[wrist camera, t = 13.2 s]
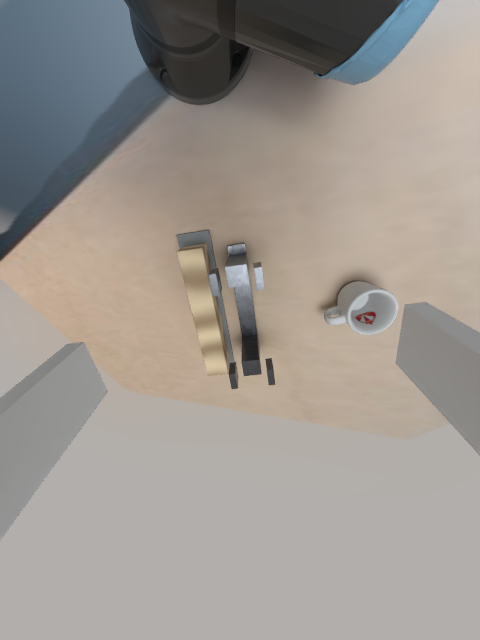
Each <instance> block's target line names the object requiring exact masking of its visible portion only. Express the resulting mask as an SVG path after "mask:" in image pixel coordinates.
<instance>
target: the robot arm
mask: <svg viewBox="0 0 480 640" xmlns="http://www.w3.org/2000/svg"><path fill="white" fill-rule="evenodd" d="M124 1H125V2H126V4H127V6H128V7H129V10H130V16H131V23H132V28H133V33H134V36H135V40H136V43H137V46H138V48H139V51H140V53H141V55H142V57H143V60H144V62H145V63H146V65H147V67H148V68H149V70H150V71H151V73H152V74H153V76H154V77H155V78H156V80H157V81H158V82H159V84H160V85H161V86H162V87H163V88H164V89H165V90H166V91H167V92H169V93H170V94H171V95H172V96H174V97H176V98H177V99H179V100H181V101H184V102H187V103H190V104H197V105H202V104H209V103H213V102H216V101H218V100H220V99H222V98H223V97H225V96H226V95H227V94H229V93H230V92H231V91H232V90H233V89H234V88H235V87H236V85H237V84H238V83H239V81H240V80H241V78H242V77H243V75H244V73H245V71H246V69H247V67H248V64H249V61H250V58H251V55H252V50H253V48H254V49H256V50H259V51H261V52H264V53H266V54H269V55H272V56H274V57H277V58H279V59H282V60H285V61H287V62H290V63H292V64H295V65H298V66H300V67H303V68H305V69H308V70H310V71H313V72H314V75H315V76H316V77H318V78H320V79H323V78H326V79H327V78H331V79H334V80H337V81H340V82H343V83H347V84H351V85H355V84H359V83H363V82H366V81H368V80H370V79H372V78H373V77H375V76H376V75H377V74H379V73H380V72H381V71H382V70H383V69H384V68H386V67H387V66H388V65H389V64H390V63H391V62H392V61H393V60H394V59H395V57H396V56H397V55H398V54H399V53H400V52H401V51H402V49H403V48H404V47H405V46H406V45H407V43H408V42H409V41H410V40H411V38H412V37H413V36H414V35H415V33H416V32H417V31H418V29H419V28H420V27H421V25H422V24H423V23H424V21H425V20H426V18H427V17H428V16H429V14H430V13H431V11H432V10H433V8H434V7H435V6H436V4H437V3H438V1H439V0H124ZM396 364H397V365H398V366H399V368H400V369H401V370H402V371H403V372H404V373H405V374H406V375H407V376H408V377H409V378H410V380H411V381H412V382H413V383H414V384H415V385H416V386H417V387H418V388H419V389H420V391H421V392H422V393H423V394H424V395H425V396H426V397H427V398H428V399H429V400H430V401H431V403H432V404H433V405H434V406H435V407H436V408H437V409H438V410H439V411H440V412H441V414H442V415H443V416H444V417H445V418H446V419H447V420H448V421H449V422H450V423H451V424H452V426H453V427H454V428H455V429H456V430H457V431H458V432H459V433H460V434H461V435H462V436H463V438H464V439H465V440H466V441H467V442H468V443H469V444H470V445H471V446H472V447H473V448H474V450H475V451H476V452H477V453H478V454H479V455H480V333H479V332H477V331H476V330H474V329H472V328H470V327H469V326H467V325H465V324H463V323H462V322H460V321H458V320H456V319H455V318H453V317H451V316H449V315H448V314H446V313H444V312H442V311H441V310H439V309H437V308H435V307H434V306H432V305H430V304H428V303H426V302H422V303H414V304H405V307H404V313H403V319H402V326H401V332H400V338H399V345H398V351H397V357H396ZM107 392H108V391H107V388H106V386H105V384H104V382H103V380H102V378H101V376H100V374H99V372H98V370H97V368H96V366H95V364H94V361H93V359H92V357H91V355H90V353H89V351H88V349H87V347H86V345H85V343H84V342H80V343H71V344H67V345H66V346H64V347H63V348H62V349H60V350H59V351H58V352H57V353H55V354H54V355H53V356H52V357H51V358H49V359H48V360H47V361H46V362H44V363H43V364H42V365H41V366H39V367H38V368H37V369H36V370H34V371H33V372H32V373H31V374H29V375H28V376H27V377H26V378H24V379H23V380H22V381H21V382H19V383H18V384H17V385H16V386H14V387H13V388H12V389H11V390H10V391H8V392H7V393H6V394H5V395H4V396H2V397H1V398H0V540H1V539H2V537H3V536H4V535H5V533H6V532H7V530H8V529H9V528H10V526H11V525H12V524H13V522H14V521H15V519H16V518H17V517H18V515H19V514H20V513H21V511H22V510H23V508H24V507H25V506H26V504H27V503H28V501H29V500H30V499H31V497H32V496H33V495H34V493H35V492H36V490H37V489H38V488H39V486H40V485H41V484H42V482H43V481H44V479H45V478H46V477H47V475H48V474H49V472H50V471H51V470H52V468H53V467H54V466H55V464H56V463H57V461H58V460H59V459H60V457H61V456H62V454H63V453H64V452H65V450H66V449H67V447H68V446H69V445H70V443H71V441H73V439H74V438H75V436H76V435H77V434H78V432H79V431H80V430H81V428H82V427H83V425H84V424H85V423H86V421H87V420H88V418H89V417H90V416H91V414H92V413H93V412H94V410H95V409H96V407H97V406H98V405H99V403H100V402H101V400H102V399H103V398H104V396H105V395H106V394H107Z"/></svg>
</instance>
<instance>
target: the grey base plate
mask: <svg viewBox="0 0 480 640" xmlns="http://www.w3.org/2000/svg"><path fill="white" fill-rule="evenodd" d="M177 239H178V243H179V247H180V249H182V248H183V247H187V246H193V245H200V244H206V243H207V248H208V253H209V258H210V263H211V268H212V269H216V263H215V258H214V253H213V247H212V242H211V237H210V232H209V230H205V231H199V232H193V233H186V234H180V235H177ZM217 298H218V303H219V308H220V313H221V318H222V323H223V328H224V333H225V338H226V344H227V349H228V354H229V359H230V360H229V366H230V363H234V358H233V352H232V347H231V342H230V337H229V331H228V326H227V321H226V316H225V310H224V305H223V300H222V295H221V293H220V295H219V296H217Z"/></svg>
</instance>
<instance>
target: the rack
mask: <svg viewBox="0 0 480 640" xmlns="http://www.w3.org/2000/svg"><path fill="white" fill-rule="evenodd" d="M227 247H228V253H229V256H228V260H227V263H226V266H225V270H226V276H227V281H228V287H234V289H235V295H236V301H237V307H238V314H239V320H240V326H241V332H242V367H243V373H244V376H249V375H258V374H261V364H260V354H259V353H260V351H259V344H258V336H257V329H256V321H255V314H254V307H253V299H252V292H251V285H250V277H249V270H248V263H247V255H246V248H245V243H241V244H234V245H228V246H227ZM253 264H254V272H255V280H256V288H257V290H263V289H264V282H263V273H262V266H261V262H258V263H253ZM208 276H209V281H210V286H211V291H212V296H219V295H220V293H221V290H222V287H221V281H220V276H219V271H218V268H216V269H211V270H210V272H209V274H208ZM266 367H267V375H268V383H269V385H275V379H274V370H273V364H272V358H269V359H266ZM229 378H230V383H231V388H232V389H237V388H238V372H237V367H236V362H234V363H230V366H229Z"/></svg>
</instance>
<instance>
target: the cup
mask: <svg viewBox="0 0 480 640" xmlns="http://www.w3.org/2000/svg"><path fill="white" fill-rule="evenodd" d="M337 303H338V305H337V306H336V307H333V308H330V309H328V310H326V311H325V313H324V319H325V321H326V322H327V323H328V324H329V325H339V324H343V323H347V324H348V325H349V326H350V328H351V329H352V330H354V331H355V332H357V333H359V334H364V335H371V334H376V333H379V332H381V331H383V330H385V329H386V328H388V327H389V326H390V325H391V324H392V323H393V321H394V320H395V318H396V316H397V313H398V302H397V300H396V298H395V296H394V295H393V294H392V293H390V292H389V291H387V290H384V289H382V288H379V287H377V286H374V285H372V284H369V283H366V282H362V281H356V282H352V283H349V284H347V285H346V286H345V287H343V288H342V290H341V291H340V293H339V295H338V299H337ZM334 314H339V316H337V317H330V316H331V315H334Z"/></svg>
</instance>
